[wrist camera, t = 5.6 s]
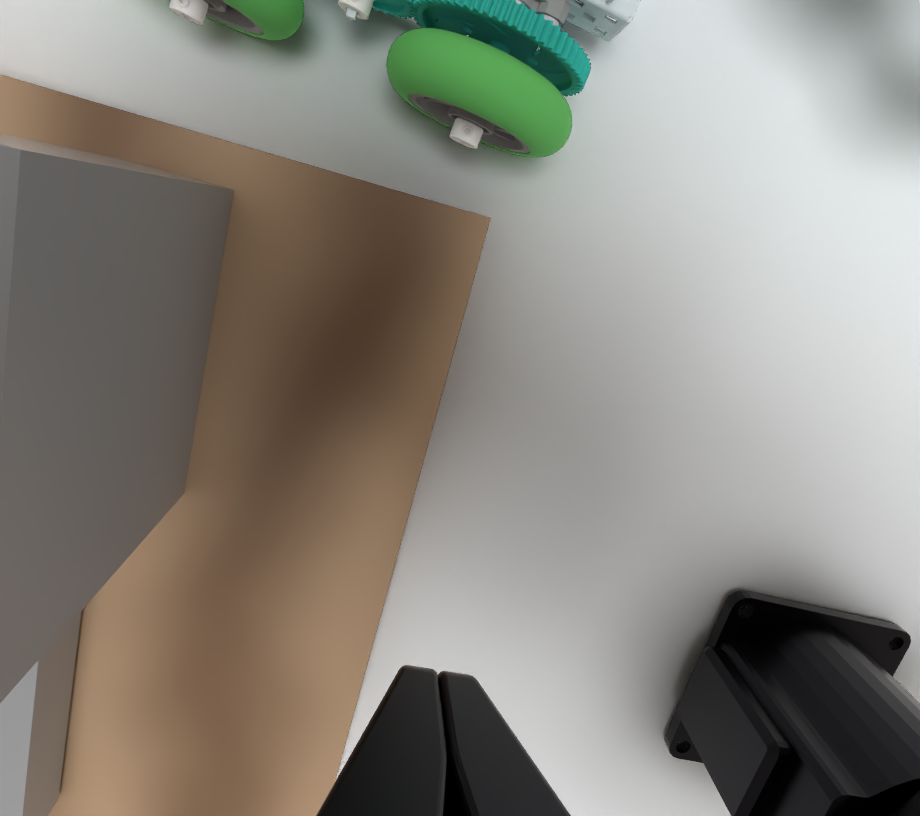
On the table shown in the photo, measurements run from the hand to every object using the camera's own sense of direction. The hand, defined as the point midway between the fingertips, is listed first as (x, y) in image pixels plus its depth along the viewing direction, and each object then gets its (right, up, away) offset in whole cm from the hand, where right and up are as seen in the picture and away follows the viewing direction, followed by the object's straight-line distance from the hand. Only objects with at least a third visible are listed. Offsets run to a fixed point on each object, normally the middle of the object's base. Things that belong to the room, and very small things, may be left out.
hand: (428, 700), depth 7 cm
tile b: (-7, +5, +8) cm, 12 cm away
